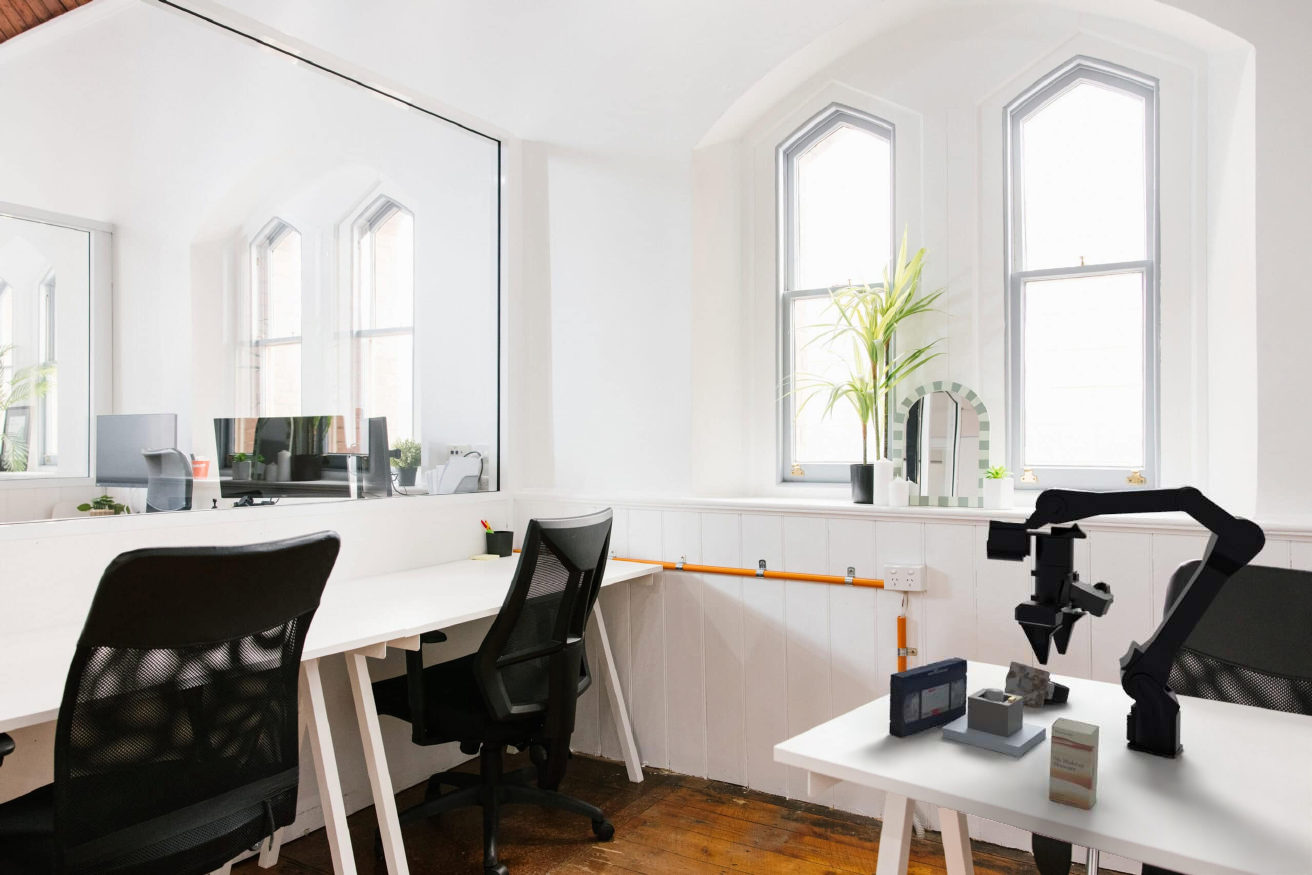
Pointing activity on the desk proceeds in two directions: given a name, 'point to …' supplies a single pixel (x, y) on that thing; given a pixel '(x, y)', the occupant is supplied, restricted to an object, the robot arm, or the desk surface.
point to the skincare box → (1074, 763)
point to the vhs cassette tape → (927, 697)
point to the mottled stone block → (1033, 685)
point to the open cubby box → (995, 714)
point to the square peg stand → (1010, 745)
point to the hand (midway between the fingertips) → (1052, 659)
